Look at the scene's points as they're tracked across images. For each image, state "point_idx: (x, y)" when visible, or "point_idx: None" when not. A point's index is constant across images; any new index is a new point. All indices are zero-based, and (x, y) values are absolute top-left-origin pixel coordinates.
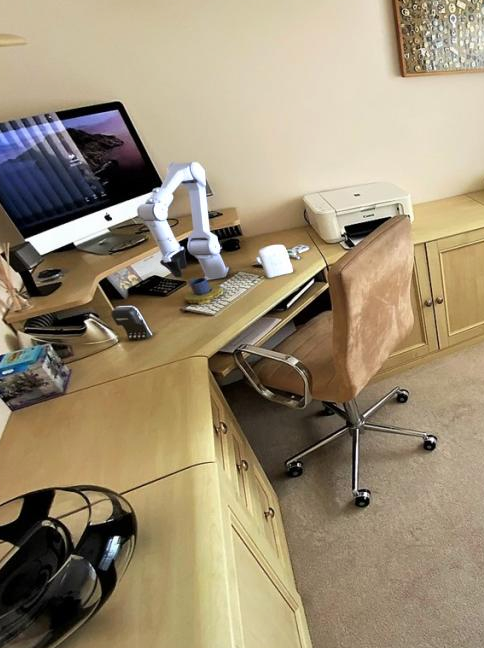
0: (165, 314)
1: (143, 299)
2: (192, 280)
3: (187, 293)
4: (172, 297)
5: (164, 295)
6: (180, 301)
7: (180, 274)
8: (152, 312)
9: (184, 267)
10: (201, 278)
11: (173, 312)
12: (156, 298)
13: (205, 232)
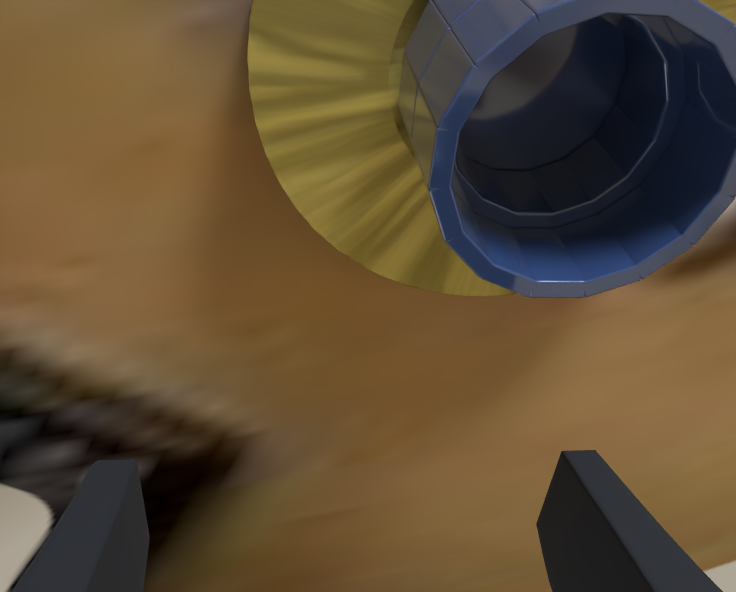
0: (684, 376)
1: (223, 575)
2: (490, 261)
3: (451, 271)
4: (296, 396)
5: (205, 465)
6: (454, 309)
7: (625, 498)
8: (554, 470)
9: (135, 503)
10: (468, 111)
11: (696, 323)
12: (249, 505)
13: None
